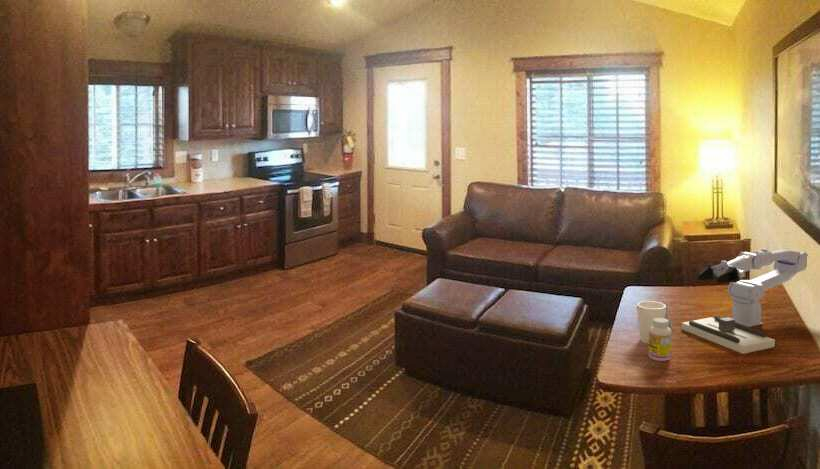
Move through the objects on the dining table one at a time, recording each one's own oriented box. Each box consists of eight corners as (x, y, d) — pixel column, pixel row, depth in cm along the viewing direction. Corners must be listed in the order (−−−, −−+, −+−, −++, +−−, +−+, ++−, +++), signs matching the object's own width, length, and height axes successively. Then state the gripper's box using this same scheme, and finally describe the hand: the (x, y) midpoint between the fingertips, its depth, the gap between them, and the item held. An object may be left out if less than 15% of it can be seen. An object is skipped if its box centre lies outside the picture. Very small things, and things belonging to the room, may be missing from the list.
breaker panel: (710, 323, 222) (711, 316, 222) (774, 346, 198) (775, 339, 198) (681, 329, 217) (681, 322, 217) (743, 353, 193) (743, 346, 193)
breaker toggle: (727, 327, 209) (727, 317, 209) (734, 330, 207) (735, 319, 206) (718, 329, 208) (719, 318, 207) (725, 332, 205) (726, 321, 204)
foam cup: (666, 346, 202) (668, 309, 200) (637, 344, 204) (639, 308, 202) (662, 336, 211) (663, 301, 209) (634, 335, 213) (635, 300, 211)
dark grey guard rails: (717, 319, 219) (717, 315, 219) (766, 336, 200) (766, 332, 200) (688, 325, 214) (688, 320, 214) (736, 343, 196) (736, 338, 196)
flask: (675, 333, 214) (676, 306, 212) (653, 332, 215) (655, 306, 214) (670, 326, 221) (672, 300, 219) (650, 325, 222) (651, 300, 221)
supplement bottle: (644, 354, 196) (645, 317, 194) (663, 353, 197) (665, 315, 194) (654, 362, 189) (655, 323, 187) (674, 361, 190) (676, 322, 188)
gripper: (714, 255, 220) (689, 266, 214) (751, 258, 207) (725, 270, 201) (717, 273, 221) (692, 284, 215) (754, 278, 208) (728, 289, 202)
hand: (708, 279), depth 208 cm, fingers open, 7 cm apart
